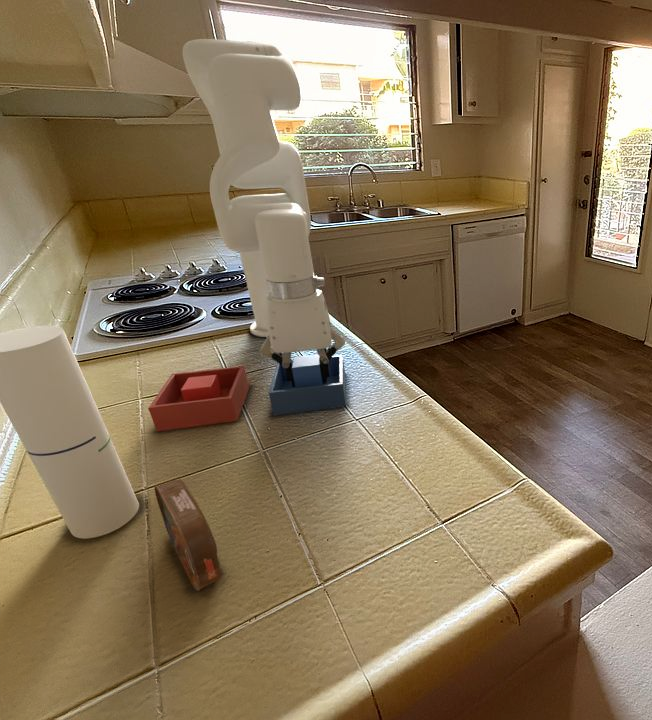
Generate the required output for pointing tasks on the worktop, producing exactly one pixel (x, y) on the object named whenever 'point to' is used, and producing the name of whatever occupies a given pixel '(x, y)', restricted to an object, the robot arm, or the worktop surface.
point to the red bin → (180, 414)
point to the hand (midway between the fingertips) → (310, 381)
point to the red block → (201, 388)
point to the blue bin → (308, 391)
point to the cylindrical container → (63, 430)
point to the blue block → (307, 371)
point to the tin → (189, 533)
